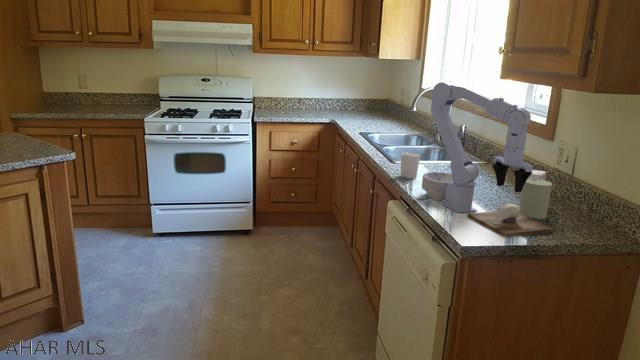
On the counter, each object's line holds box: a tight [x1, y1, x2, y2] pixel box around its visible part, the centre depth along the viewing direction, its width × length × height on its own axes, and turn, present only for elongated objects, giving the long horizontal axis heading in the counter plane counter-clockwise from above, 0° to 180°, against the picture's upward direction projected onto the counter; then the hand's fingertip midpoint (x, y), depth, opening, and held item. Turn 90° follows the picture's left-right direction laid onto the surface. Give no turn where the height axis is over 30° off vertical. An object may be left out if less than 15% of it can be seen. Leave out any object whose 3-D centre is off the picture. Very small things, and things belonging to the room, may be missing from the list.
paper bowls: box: [421, 171, 453, 202], centre depth 176 cm, size 15×15×8 cm
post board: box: [467, 210, 554, 238], centre depth 150 cm, size 18×18×3 cm
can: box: [518, 178, 553, 220], centre depth 161 cm, size 9×9×12 cm
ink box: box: [529, 169, 547, 181], centre depth 174 cm, size 9×5×12 cm, turn 141°
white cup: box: [400, 151, 421, 179], centre depth 203 cm, size 8×8×10 cm
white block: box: [496, 203, 520, 220], centre depth 148 cm, size 10×5×4 cm, turn 132°
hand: (509, 188), depth 153 cm, fingers open, 7 cm apart
